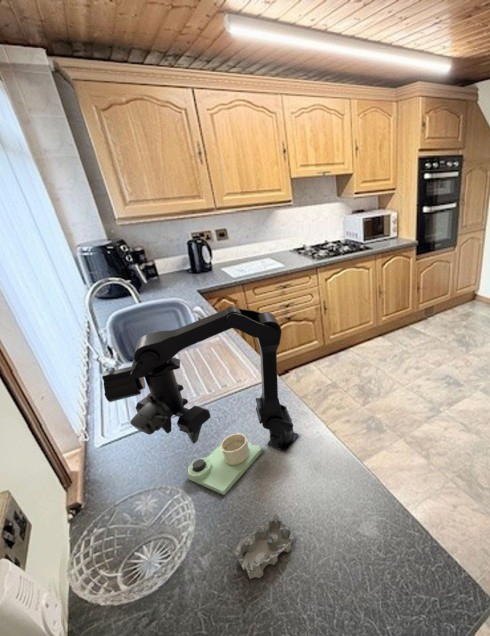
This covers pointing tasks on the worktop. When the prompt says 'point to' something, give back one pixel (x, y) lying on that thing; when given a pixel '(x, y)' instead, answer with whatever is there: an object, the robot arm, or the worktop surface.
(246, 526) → the worktop surface
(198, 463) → the button
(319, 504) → the worktop surface
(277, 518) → the egg carton
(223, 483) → the scale
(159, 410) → the robot arm
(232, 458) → the cup
